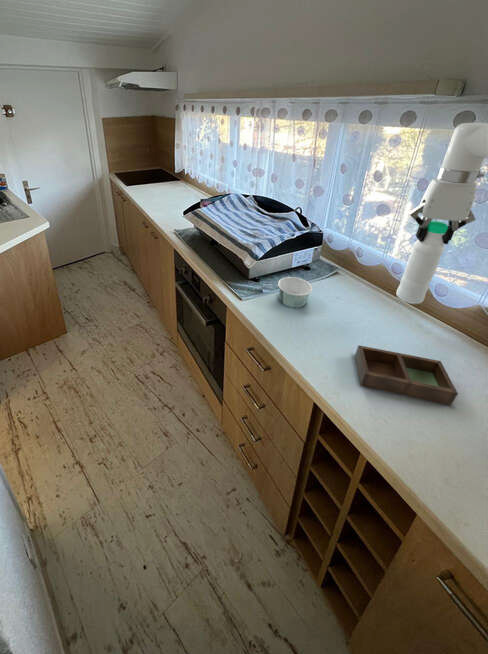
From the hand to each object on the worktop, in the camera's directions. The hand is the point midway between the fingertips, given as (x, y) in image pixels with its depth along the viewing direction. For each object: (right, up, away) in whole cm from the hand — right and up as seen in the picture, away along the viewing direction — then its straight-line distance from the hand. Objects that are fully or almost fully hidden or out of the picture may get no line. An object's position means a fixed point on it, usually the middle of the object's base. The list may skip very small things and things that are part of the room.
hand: (431, 240), depth 86 cm
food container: (-29, -21, +29) cm, 46 cm away
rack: (-11, -38, -3) cm, 40 cm away
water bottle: (0, -18, +9) cm, 20 cm away
